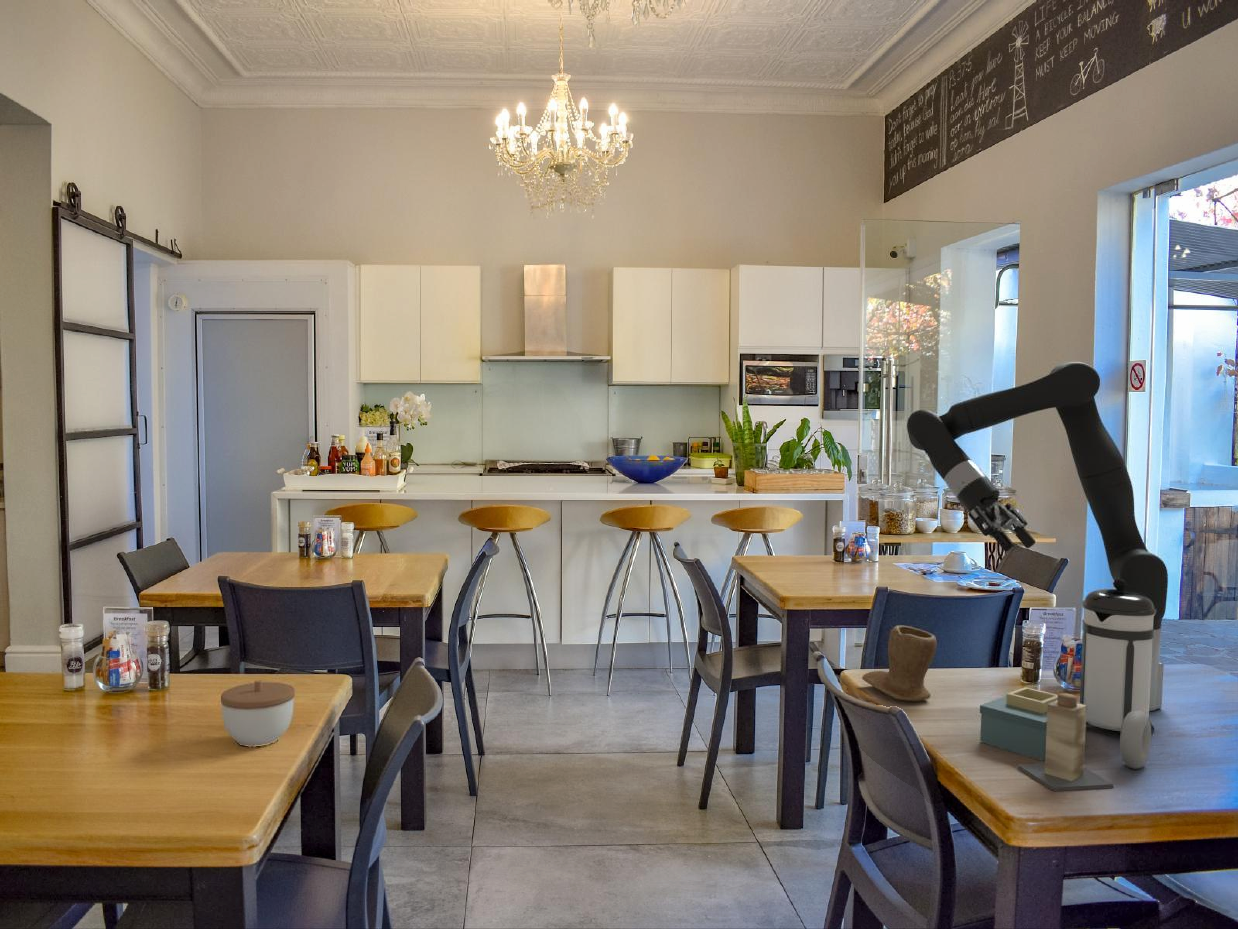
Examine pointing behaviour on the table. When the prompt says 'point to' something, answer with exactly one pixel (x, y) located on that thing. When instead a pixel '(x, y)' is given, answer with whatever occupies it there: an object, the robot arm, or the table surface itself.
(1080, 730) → the wooden block
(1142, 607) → the coffee press
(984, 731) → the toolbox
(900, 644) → the brown top hat
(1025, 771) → the rubber mat
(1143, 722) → the donut
